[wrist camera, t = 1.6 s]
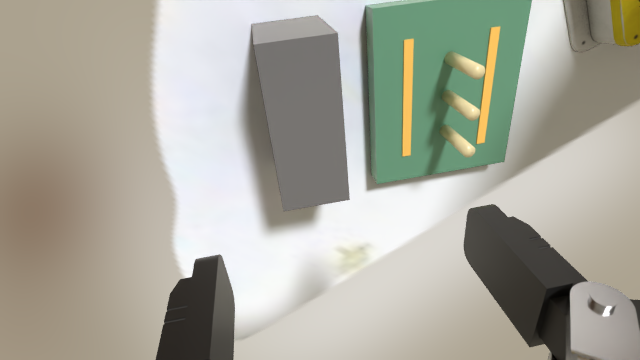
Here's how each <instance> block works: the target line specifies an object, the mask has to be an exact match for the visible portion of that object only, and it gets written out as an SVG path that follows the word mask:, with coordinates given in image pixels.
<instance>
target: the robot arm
mask: <svg viewBox="0 0 640 360" xmlns="http://www.w3.org/2000/svg"><path fill="white" fill-rule="evenodd" d="M464 251H465V256H466V258H467V260H468V262H469V264H470V265H471V267H472V268H473V270H474V271H475V272H476V274H477V275H478V276H479V278H480V279H481V281H482V282H483V283H484V285H485V286H486V288H488V290H489V292H490V293H491V294H492V296H493V297H494V299H495V300H496V301H497V303H498V304H499V305H500V307H501V308H502V310H503V311H504V312H505V314H506V315H507V317H508V318H509V319H510V321H511V322H512V323H513V325H514V326H515V328H516V329H517V330H518V332H519V333H520V335H521V336H522V337H523V339H524V340H525V341H526V342H527V344H528V345H529V347H533V346H537V345H542V344H545V345H546V346H547V347H548V349H549V350H550V353H549V356H548V360H640V300H631V299H629V298H628V297H626V296H625V295H624V294H623V293H621V292H620V291H618V290H617V289H614V288H612V287H610V286H608V285H605V284H601V283H597V282H588V281H587V280H586V279H585V278H584V277H583V276H582V275H581V274H580V273H579V272H578V271H577V270H576V269H574V267H572V266H571V265H570V264H569V263H568V262H567V261H566V260H565V259H564V258H563V257H562V256H561V255H560V254H559V253H558V252H557V251H556V250H555V249H554V248H551V247H550V245H549V244H548V243H547V242H546V241H545V240H544V239H543V238H542V239H541V236H540V235H539V234H538V233H537V232H536V231H535V230H534V229H533V228H532V227H531V226H530V225H528V224H526V223H524V222H522V221H521V220H519V219H517V218H515V217H507V216H506V215H505V214H504V213H503V212H502V211H501V210H500V209H499V208H498V207H497V206H496V205H493V204H491V205H487V206H481V207H476V208H471V209H469V211H468V214H467V222H466V230H465V238H464ZM234 318H235V304H234V296H233V291H232V287H231V284H230V281H229V277H228V274H227V271H226V268H225V264H224V261H223V258H222V256H221V255H215V256H210V257H204V258H199V259H196V260H195V263H194V269H193V275H192V277H190V278H185V279H180V280H179V282H178V283H177V285H176V286H175V288H174V289H173V291H172V292H171V293H170V297H169V302H168V306H167V312H166V315H165V320H164V323H165V324H164V325H163V329H162V334H161V338H160V343H159V347H158V352H157V356H156V360H233V352H234V351H233V350H234Z"/></svg>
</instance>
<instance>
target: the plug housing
mask: <svg viewBox="0 0 640 360" xmlns="http://www.w3.org/2000/svg"><path fill="white" fill-rule="evenodd" d="M252 34H253V45H254V51H255V56H256V62H257V67H258V73H259V78H260V84H261V89H262V95H263V100H264V106H265V111H266V117H267V122H268V127H269V133H270V138H271V144H272V149H273V155H274V160H275V166H276V171H277V177H278V182H279V188H280V193H281V199H282V204H283V210H284V211H289V210H294V209H300V208H306V207H311V206H317V205H322V204H328V203H334V202H339V201H345V200H350V199H349V185H348V171H347V157H346V143H345V129H344V115H343V101H342V87H341V73H340V59H339V45H338V33H337V32H336V31H335V30H334V29H333V28H331V27H330V26H329V25H328V24H327V23H326V22H325V21H323V20H322V19H321V18H320V17H319V16H318V15H317V16H309V17H301V18H294V19H286V20H279V21H271V22H264V23H256V24H252Z"/></svg>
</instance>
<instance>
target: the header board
mask: <svg viewBox="0 0 640 360" xmlns="http://www.w3.org/2000/svg"><path fill="white" fill-rule="evenodd" d="M531 2H532V0H403V1H395V2H388V3H380V4H373V5H366V32H367V62H368V91H369V120H370V149H371V174H372V176H373V178H374V180H375V181H376V183H377V184H380V183H386V182H391V181H397V180H403V179H408V178H414V177H420V176H426V175H431V174H437V173H443V172H448V171H454V170H460V169H466V168H471V167H477V166H483V165H488V164H494V163H500V162H504V160H505V154H506V148H507V142H508V136H509V130H510V125H511V119H512V113H513V107H514V101H515V95H516V90H517V84H518V78H519V72H520V66H521V60H522V55H523V49H524V43H525V37H526V31H527V25H528V20H529V14H530V8H531Z"/></svg>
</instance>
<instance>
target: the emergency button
mask: <svg viewBox="0 0 640 360" xmlns="http://www.w3.org/2000/svg"><path fill="white" fill-rule="evenodd" d="M564 5H565V12H566V18H567V24H568V30H569V36H570V43H571V47H572V48H573V50H574V51H578V52H584V51H587V50H590V49H591V48H593V47H595V46H597V45H599V44H600V43H608V44H617V45H620V46H634V45H637V44H639V43H640V0H564Z"/></svg>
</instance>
